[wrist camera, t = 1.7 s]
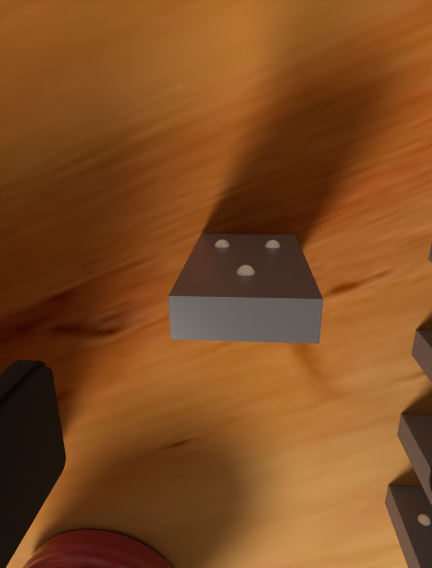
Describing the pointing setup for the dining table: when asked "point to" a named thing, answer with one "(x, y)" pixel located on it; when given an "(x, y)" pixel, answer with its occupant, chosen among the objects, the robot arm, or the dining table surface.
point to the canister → (94, 552)
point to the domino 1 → (246, 291)
